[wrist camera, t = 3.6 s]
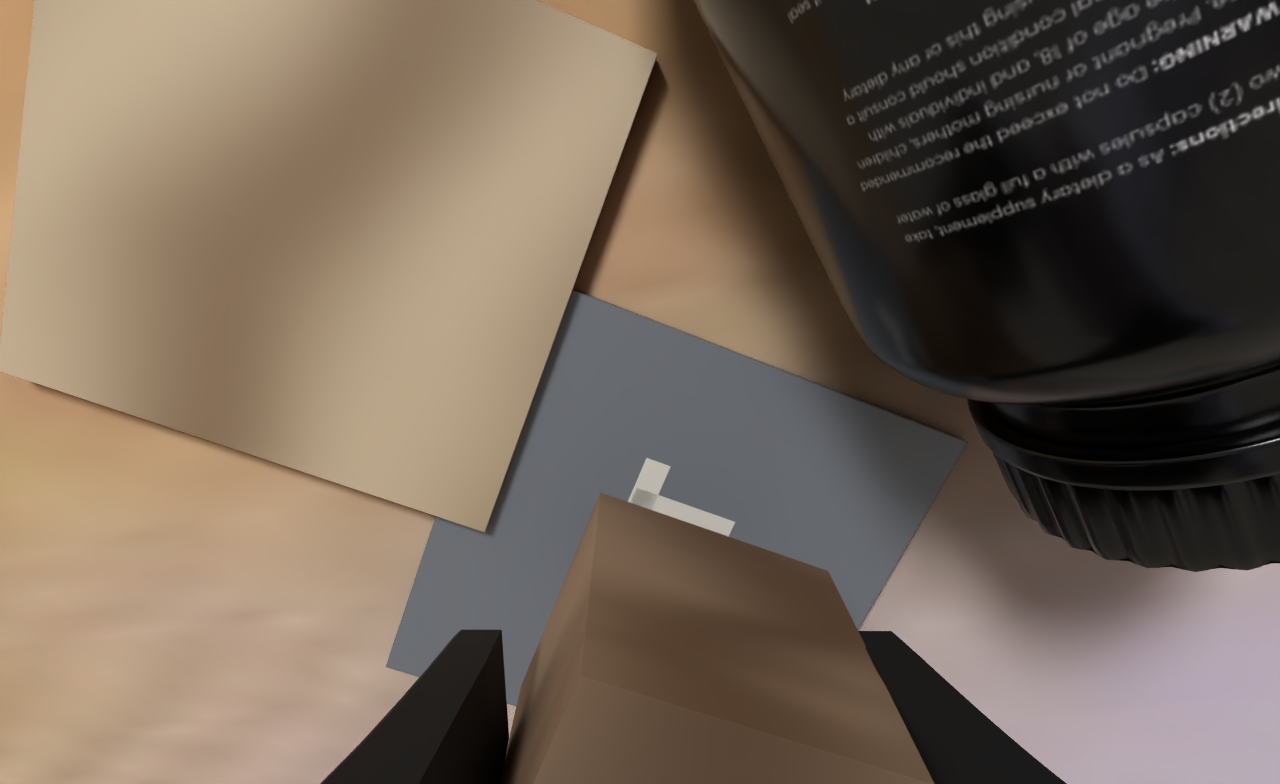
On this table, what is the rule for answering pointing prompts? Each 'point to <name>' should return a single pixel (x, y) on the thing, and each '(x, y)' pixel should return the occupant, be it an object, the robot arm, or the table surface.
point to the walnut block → (700, 669)
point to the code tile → (673, 478)
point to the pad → (314, 223)
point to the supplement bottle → (1053, 238)
